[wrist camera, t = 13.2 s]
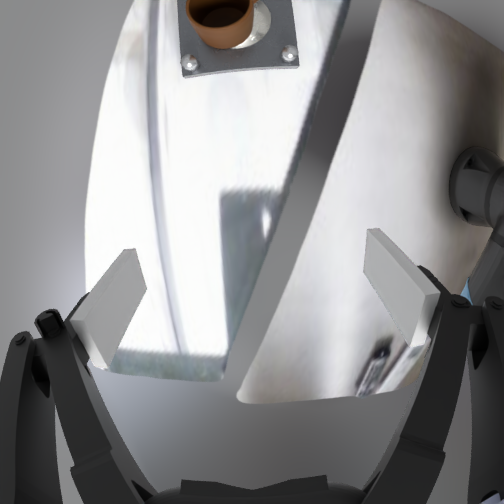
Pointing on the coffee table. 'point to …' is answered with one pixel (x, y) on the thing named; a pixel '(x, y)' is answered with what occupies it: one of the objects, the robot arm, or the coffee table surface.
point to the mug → (221, 21)
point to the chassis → (251, 50)
